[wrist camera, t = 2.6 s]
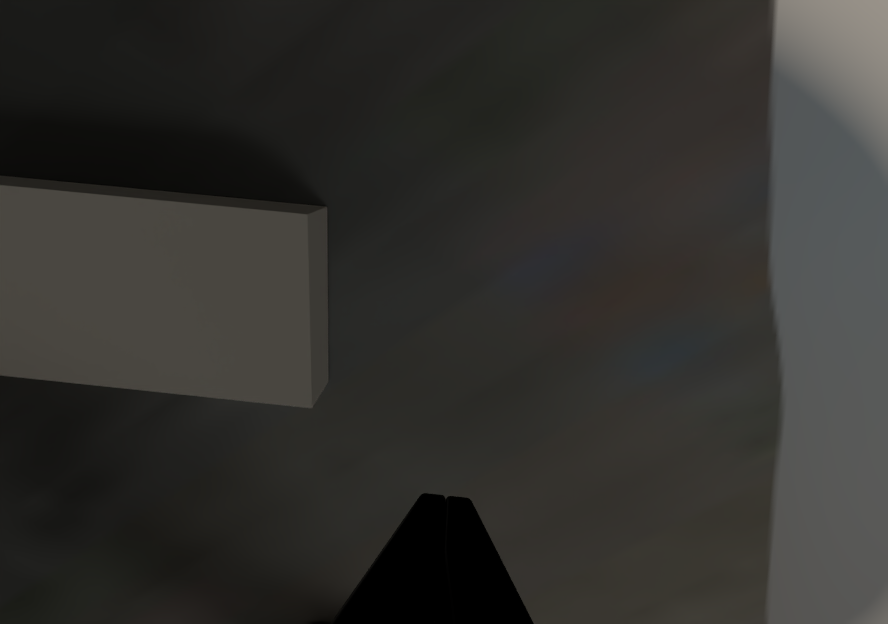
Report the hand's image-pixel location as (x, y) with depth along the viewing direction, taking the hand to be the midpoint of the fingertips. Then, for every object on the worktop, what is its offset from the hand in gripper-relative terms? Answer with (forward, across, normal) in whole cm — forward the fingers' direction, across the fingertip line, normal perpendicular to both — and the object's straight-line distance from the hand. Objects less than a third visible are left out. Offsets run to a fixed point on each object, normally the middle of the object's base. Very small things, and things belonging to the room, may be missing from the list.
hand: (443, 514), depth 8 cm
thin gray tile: (+10, +13, 0) cm, 16 cm away
